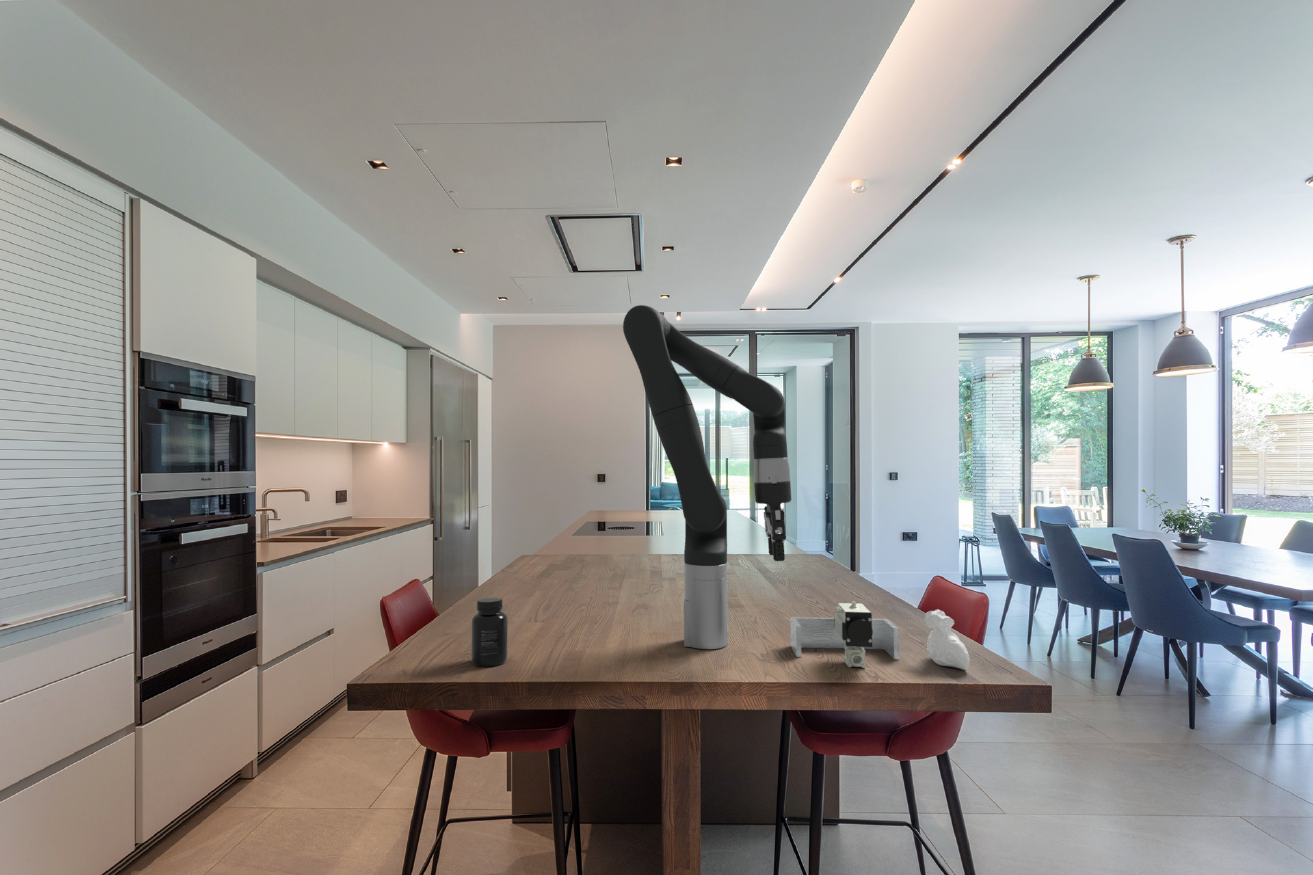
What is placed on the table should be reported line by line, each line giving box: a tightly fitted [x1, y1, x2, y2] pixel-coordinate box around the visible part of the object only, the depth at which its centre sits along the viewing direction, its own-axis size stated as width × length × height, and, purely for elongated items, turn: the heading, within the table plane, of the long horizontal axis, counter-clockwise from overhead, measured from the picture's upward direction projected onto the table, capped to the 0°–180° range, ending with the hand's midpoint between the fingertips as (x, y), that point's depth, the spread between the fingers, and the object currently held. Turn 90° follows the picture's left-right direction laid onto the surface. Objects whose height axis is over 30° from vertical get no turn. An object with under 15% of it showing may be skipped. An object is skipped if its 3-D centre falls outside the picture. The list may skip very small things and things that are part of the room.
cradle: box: [790, 616, 901, 661], centre depth 124 cm, size 20×8×6 cm, turn 85°
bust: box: [924, 608, 971, 671], centre depth 117 cm, size 12×8×11 cm
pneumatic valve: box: [833, 600, 873, 669], centre depth 117 cm, size 6×12×12 cm, turn 173°
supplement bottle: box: [470, 597, 509, 668], centre depth 118 cm, size 7×7×12 cm
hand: (776, 557), depth 127 cm, fingers open, 8 cm apart
